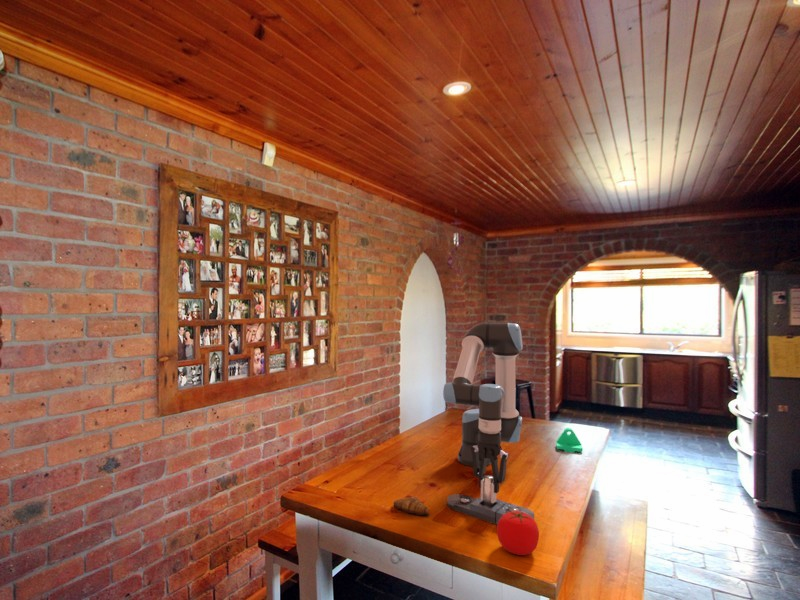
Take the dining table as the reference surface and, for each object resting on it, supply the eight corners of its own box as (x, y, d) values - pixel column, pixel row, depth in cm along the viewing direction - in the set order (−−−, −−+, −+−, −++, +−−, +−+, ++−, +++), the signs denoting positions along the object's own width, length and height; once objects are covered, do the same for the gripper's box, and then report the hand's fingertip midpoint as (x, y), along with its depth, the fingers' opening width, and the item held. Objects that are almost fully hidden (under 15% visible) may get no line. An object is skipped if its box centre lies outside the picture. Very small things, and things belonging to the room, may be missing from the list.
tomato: (521, 566, 116) (521, 527, 116) (488, 546, 126) (489, 510, 126) (547, 552, 123) (548, 516, 123) (515, 535, 133) (515, 500, 133)
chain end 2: (470, 515, 144) (470, 502, 144) (482, 506, 151) (482, 493, 152) (528, 535, 132) (528, 520, 132) (538, 524, 139) (538, 510, 140)
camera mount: (556, 451, 214) (556, 430, 215) (556, 446, 222) (556, 426, 222) (582, 454, 211) (582, 433, 211) (581, 449, 218) (581, 429, 218)
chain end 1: (442, 506, 151) (442, 498, 151) (455, 497, 158) (455, 490, 158) (495, 524, 139) (495, 516, 139) (506, 514, 146) (506, 506, 146)
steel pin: (481, 513, 145) (482, 477, 145) (486, 509, 147) (486, 474, 148) (490, 516, 143) (491, 479, 143) (494, 512, 145) (495, 477, 146)
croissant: (433, 512, 147) (433, 497, 147) (424, 520, 141) (424, 505, 141) (398, 502, 153) (399, 488, 153) (389, 510, 147) (389, 495, 147)
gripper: (463, 428, 148) (462, 497, 147) (507, 437, 138) (506, 511, 137) (473, 424, 154) (472, 490, 153) (516, 432, 144) (515, 503, 143)
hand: (488, 499), depth 145 cm, fingers closed on steel pin, 3 cm apart
